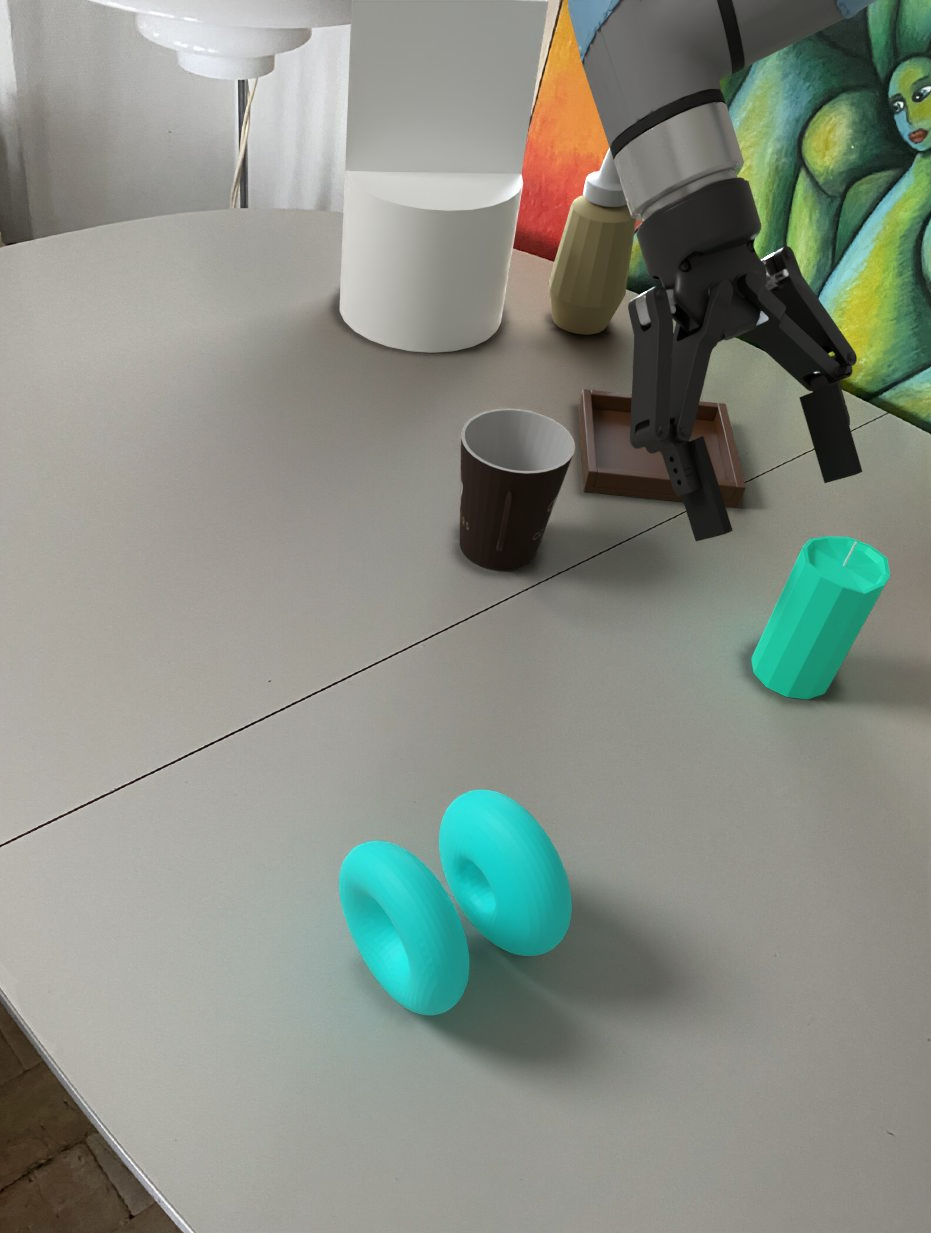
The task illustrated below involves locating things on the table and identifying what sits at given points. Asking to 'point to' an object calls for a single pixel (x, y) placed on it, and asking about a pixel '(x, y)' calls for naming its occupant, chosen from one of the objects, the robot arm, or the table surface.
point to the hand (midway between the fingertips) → (781, 506)
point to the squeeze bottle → (593, 255)
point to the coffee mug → (509, 484)
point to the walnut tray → (638, 471)
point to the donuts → (482, 886)
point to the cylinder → (435, 166)
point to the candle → (819, 615)
